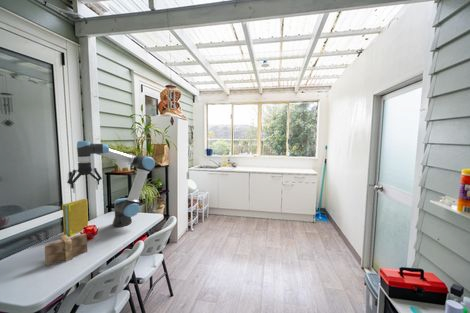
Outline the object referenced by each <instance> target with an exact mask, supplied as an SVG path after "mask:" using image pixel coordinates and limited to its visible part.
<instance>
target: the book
mask: <svg viewBox="0 0 470 313" xmlns="http://www.w3.org/2000/svg"><path fill="white" fill-rule="evenodd" d="M61 208H62V210H61V211H62V217H63V218H62V221H63V235H67V236H68V237H73V236H76V234H78V233H80V231H81V232H83V231H84V230H83V227H85V226H88V227H89V215H88V214H89V211H88V209H89V208H88V199H87V198H81V199H78V200H75V201H72V202H70V201H69V202H67V203H63V204H61ZM82 230H83V231H82Z"/></svg>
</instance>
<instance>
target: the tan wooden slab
mask: <svg viewBox="0 0 470 313" xmlns="http://www.w3.org/2000/svg"><path fill="white" fill-rule="evenodd" d="M59 236H60V237H59V238H60V240H62V241H63V249H65V261H66V262H68V261H71V260H73V257H74V256H73V257H72V240H71V239H70V236H68V235H64V234H62V235H59ZM60 240H59V241H60Z"/></svg>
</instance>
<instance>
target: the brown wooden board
mask: <svg viewBox="0 0 470 313" xmlns="http://www.w3.org/2000/svg"><path fill="white" fill-rule="evenodd" d="M87 236H88V235H87V234H86V232H84V233H80V234H77V235H73V236H69V238H70V239H71V240H72V257H75V256H76V257H77V256H79V255H81V254H84V253H87V252H88V243H87V242H88V237H87ZM44 256H45V257H44V258H45V259H44V260H45V266H51V265H53V263H54V264H56V263H59V262H61V261H64V260H65V249H63V241H62V240H57V241H54V242H49V243H45V244H44ZM65 261H66V260H65ZM50 264H51V265H50Z"/></svg>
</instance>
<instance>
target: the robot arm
mask: <svg viewBox="0 0 470 313" xmlns="http://www.w3.org/2000/svg"><path fill="white" fill-rule="evenodd" d="M76 150H77V151H76V152H77V162H78V163H77V169H72V172H71V174H70V176H69V178H68V179H67V182H66V183H67V184H70V189H72V193H73V194H76V192H77V191H76V184H75V183H76V182H77V180H78V179H79V178H80V177H82V176H88V175H90V176H91V177H92V178H93V179H95V180H94V184H95V190H99V185H100V181H101V180H102V177H101V174H100V173H99V171H98V170H97V168H96V167H93V168H92V158H91V155H94V154H95V155H99V156H102V157H105V158H106V157H107V158H109V159H113V160H117V161H120V162H124V163H127V164H128V165H130V166H133V167H136V170H137V172H136V175H135V177H134V180H133V183H132V186H131V189H130V191H129V194H128V196H127V197H122V198H118V199H115V200H114V204H113V206H114V218H113V221H112V226H113V227H114V228H121V227H126V226H128V225H131V224H132V223H133V220H132V217H135V216H137V215H138V214H139V212H140V200H139V199H140V196H141V193H142V190H143V187H144V184H145V183H146V179H147V176H148V174H149V173H151V170H153V169H154V168H155V166H156V161H155V159H154V158H153V157H151V156H143V155H135V154H127V153H125V152H122V151H119V150H115V149H112V148H110V147H109V145H108V144H107V143H91V142H90V141H89V140H79V141H77V143H76ZM92 172H94V173H95V175H94V174H93V173H92ZM76 173H78V174H77V175H76ZM75 175H76V176H75Z"/></svg>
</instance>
